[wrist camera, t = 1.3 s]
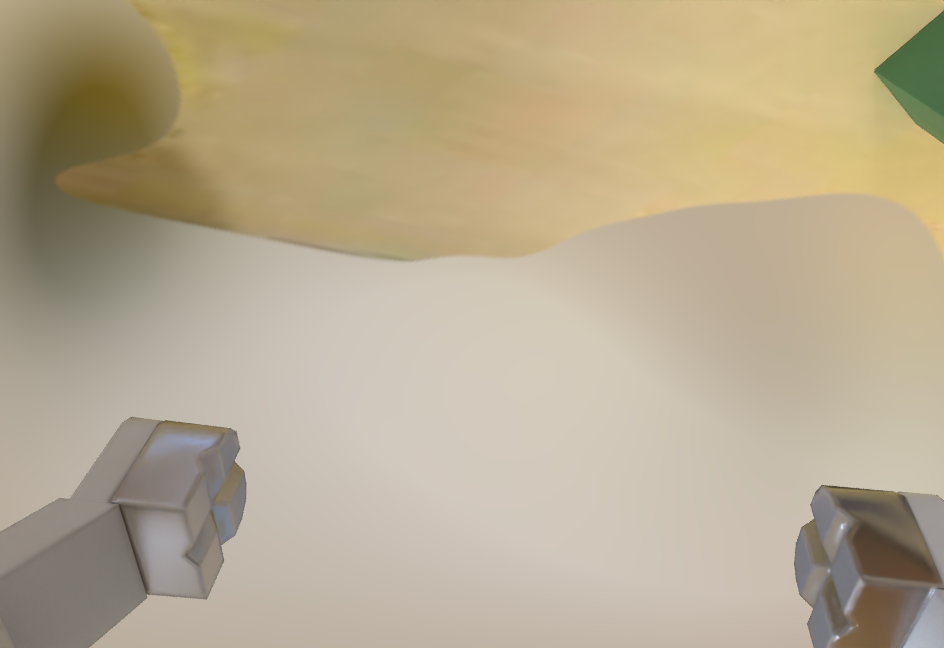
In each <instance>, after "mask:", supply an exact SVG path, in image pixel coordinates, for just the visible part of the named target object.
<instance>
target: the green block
mask: <svg viewBox="0 0 944 648" xmlns="http://www.w3.org/2000/svg"><path fill="white" fill-rule="evenodd" d="M874 72H875V73H876V74H877V76H878V77H879V78H880V79H881V81H882V82H883V83H884V84H885V86H886V87H887V88H888V89H889V91H890V92H891V93H892V94H893V96H894V97H895V98H896V99H897V101H898V102H899V103H900V104H901V106H902V107H903V108H904V109H905V111H906V112H907V113H908V114H909V116H910V117H911V118H912V119H913V120H914V122H915V123H916V124H917V125H918V126H920V127H921V128H922V129H924V130H925V131H927V132H928V133H929V134H931V135H932V136H934V137H935V138H936V139H938V140H939V141H941V142H942V143H943V144H944V11H943V12H942V13H941V14H940V15H939V16H938V17H936V18H935V19H934V20H933V21H932V22H931V23H929V24H928V25H927V26H926V27H925V28H924V29H922V30H921V31H920V32H919V33H918V34H916V35H915V36H914V37H913V38H912V39H911V40H909V41H908V42H907V43H906V44H905V45H904V46H902V47H901V48H900V49H899V50H898V51H897V52H895V53H894V54H893V55H892V56H891V57H890V58H888V59H887V60H886V61H885V62H884V63H883V64H881V65H880V66H879V67H878V68H877V69H876V70H875V71H874Z"/></svg>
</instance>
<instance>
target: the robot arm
mask: <svg viewBox="0 0 944 648" xmlns="http://www.w3.org/2000/svg"><path fill="white" fill-rule="evenodd" d="M239 450H240V445H239V441H238V436H237V432H236V431H235V430H233V429H231V428H224V427H216V426H208V425H199V424H191V423H183V422H175V421H160V420H152V419H144V418H136V417H131V418H129V419H127V420H126V421H124V422H123V423H122V424H121V425H120V427H119V428H118V429H117V431H116V432H115V434H114V435H113V437H112V438H111V439H110V441H109V442H108V444H107V445H106V447H105V448H104V450H103V451H102V453H101V454H100V455H99V457H98V458H97V460H96V461H95V463H94V464H93V466H92V467H91V469H90V470H89V472H88V473H87V474H86V476H85V477H84V479H83V480H82V482H81V483H80V485H79V486H78V488H77V489H76V490H75V492H74V494H73V495H72V496H71V498H70V499H64V498H59V499H57V500H55V501H54V502H52V503H50V504H48V505H46V506H45V507H43V508H41V509H39V510H38V511H36V512H34V513H33V514H31V515H29V516H27V517H25V518H24V519H22V520H20V521H18V522H17V523H15V524H13V525H11V526H10V527H8V528H6V529H4V530H3V531H1V532H0V648H89V647H90V646H92V645H93V644H94V643H95V642H96V641H97V640H99V639H100V638H101V637H102V636H103V635H104V634H105V633H107V632H108V631H109V630H110V629H111V628H113V627H114V626H115V625H116V624H117V623H118V622H120V621H121V620H122V619H123V618H124V617H125V616H127V615H128V614H129V613H130V612H131V611H132V610H134V609H135V608H136V607H137V606H138V605H140V603H142V602H143V601H144V600H145V599H146V598H147V594H148V595H160V596H173V597H185V598H197V599H207V598H208V596H209V593H210V591H211V589H212V587H213V584H214V582H215V580H216V578H217V576H218V573H219V571H220V569H221V567H222V564H223V562H224V558H223V553H222V548H221V545H222V544H224V543H225V542H226V541H228V540H229V539H230V538H232V537H233V536H235V534H236V532H237V530H238V527H239V525H240V522H241V520H242V516H243V511H244V507H245V502H246V479H245V473H244V470H243V469H241V467H239V465H237V463H236V462H235V459H236V456H237V454H238V452H239ZM810 505H811V509H812V512H813V516H814V520H812V521H810V522H809V523H807V524H806V525H804V526H803V527H802V528H801V531H800V534H799V536H798V539H797V542H796V548H795V561H794V566H795V575H796V582H797V586H798V589H799V594H800V596H801V597H802V598H803V599H804V600H805V601H806V602H807V603H808V604H809V605H810V606H811V607H812V608H813V611H812V614H811V616H810V618H809V621H808V623H807V625H808V628H809V632H810V636H811V639H812V643H813V647H814V648H944V500H943V499H942V498H940V497H939V496H938V495H931V494H919V493H908V492H897V493H896V492H893V491H882V490H871V489H859V488H848V487H837V486H826V485H825V486H824V485H822V486H821V487H820V488H819V489H818V490H817V491H816V492H815V494H814V497H813V499H812V502H811V504H810Z"/></svg>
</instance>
